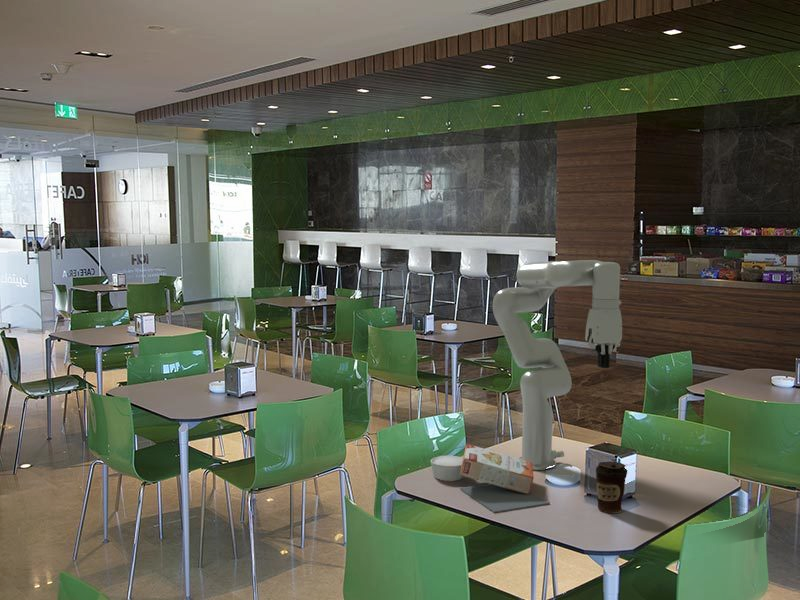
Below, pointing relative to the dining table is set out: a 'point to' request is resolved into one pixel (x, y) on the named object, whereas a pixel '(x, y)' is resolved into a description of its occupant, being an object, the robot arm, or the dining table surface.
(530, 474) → the cracker box
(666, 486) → the dining table surface
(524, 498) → the rubber mat
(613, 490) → the coffee cup
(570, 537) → the dining table surface
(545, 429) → the robot arm
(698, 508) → the dining table surface
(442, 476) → the ramekin
